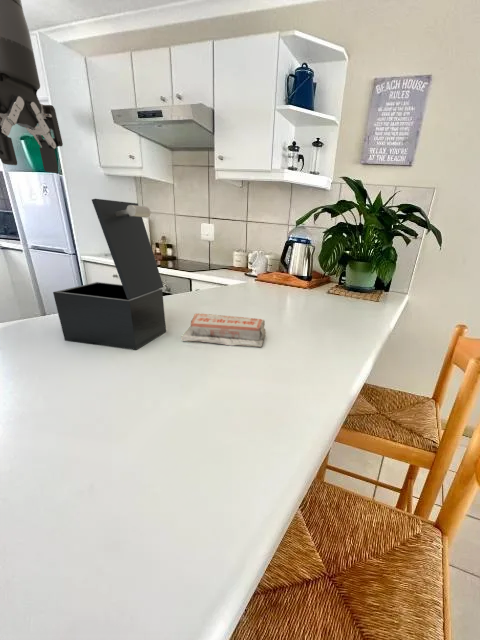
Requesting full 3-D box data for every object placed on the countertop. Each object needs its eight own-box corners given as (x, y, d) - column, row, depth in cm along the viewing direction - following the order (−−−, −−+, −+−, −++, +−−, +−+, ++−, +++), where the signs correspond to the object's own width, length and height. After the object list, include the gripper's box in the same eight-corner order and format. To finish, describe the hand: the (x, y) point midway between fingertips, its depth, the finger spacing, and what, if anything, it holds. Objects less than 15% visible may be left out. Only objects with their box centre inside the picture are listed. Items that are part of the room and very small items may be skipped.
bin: (64, 340, 66) (52, 292, 62) (104, 324, 77) (96, 281, 73) (136, 350, 65) (129, 301, 60) (166, 331, 76) (162, 289, 71)
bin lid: (91, 199, 53) (117, 193, 52) (134, 204, 64) (156, 199, 63) (127, 299, 60) (151, 295, 59) (160, 287, 71) (181, 284, 70)
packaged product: (266, 315, 78) (263, 327, 69) (265, 334, 80) (262, 348, 71) (192, 309, 77) (179, 320, 69) (193, 328, 80) (180, 341, 71)
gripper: (21, 62, 56) (45, 173, 63) (-72, 14, 43) (-29, 159, 50) (61, 64, 55) (80, 176, 62) (-22, 16, 43) (15, 163, 50)
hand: (32, 168), depth 56 cm, fingers open, 8 cm apart
